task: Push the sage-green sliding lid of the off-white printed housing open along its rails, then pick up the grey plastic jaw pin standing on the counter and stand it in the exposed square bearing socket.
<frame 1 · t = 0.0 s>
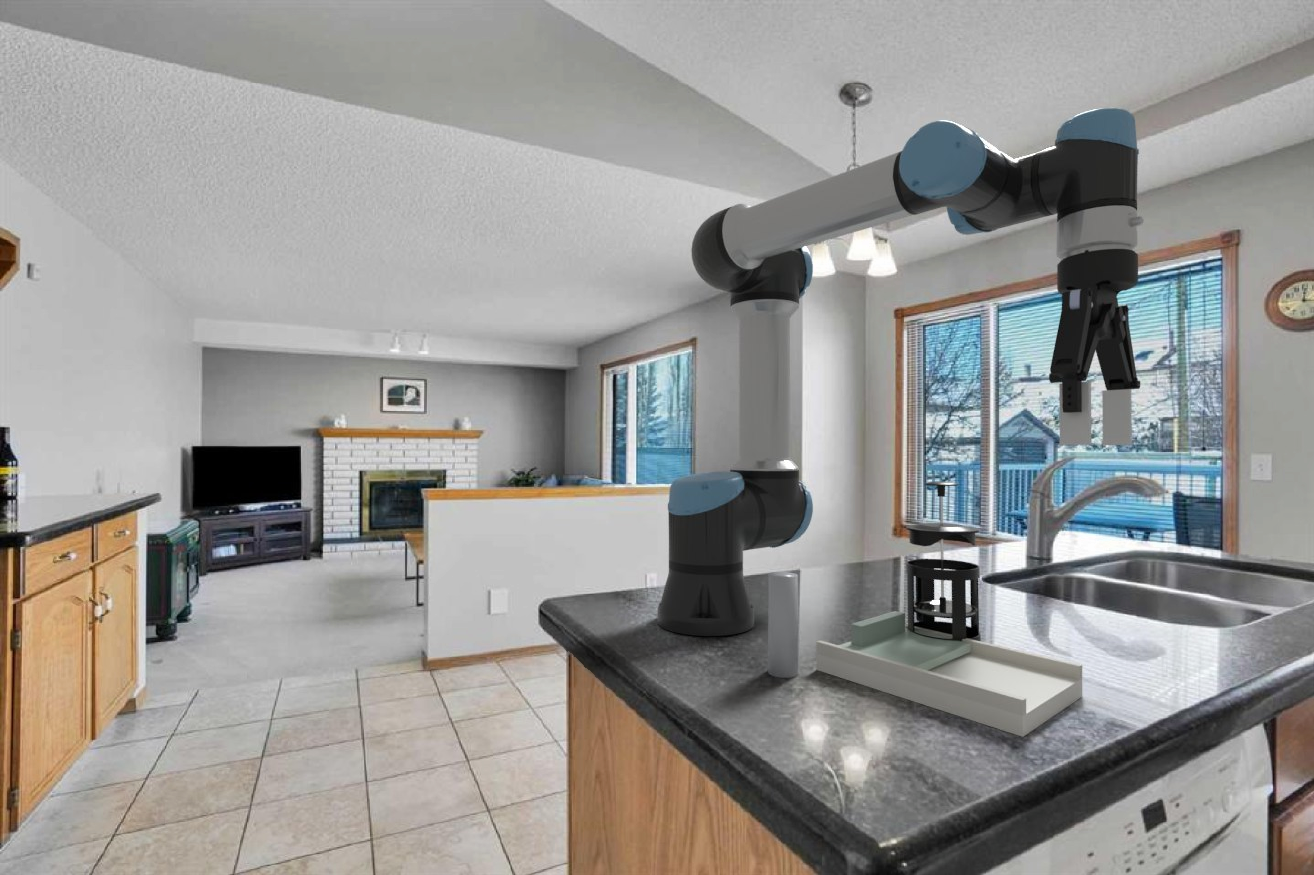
hand: (1097, 445, 73), 28 cm above the countertop, fingers open, 13 cm apart
lid: (904, 638, 81), point 4 cm above the countertop, slide at 0.3 cm, touching french press
housing: (942, 682, 77), on the countertop
jaw pin: (782, 672, 80), on the countertop
french press: (941, 655, 87), on the countertop, touching housing, lid
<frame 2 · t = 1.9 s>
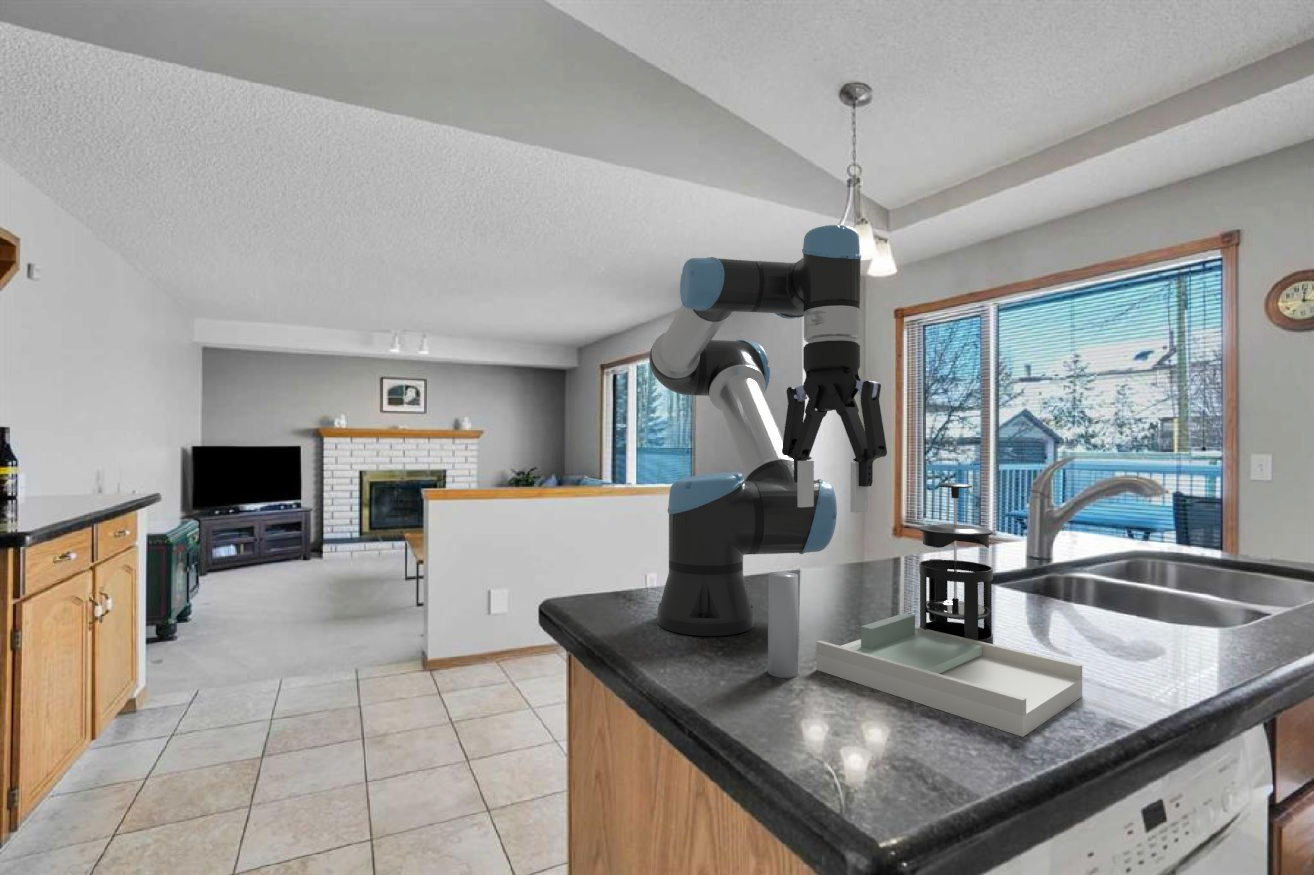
hand: (831, 508, 89), 19 cm above the countertop, fingers open, 8 cm apart
lid: (915, 641, 79), point 4 cm above the countertop, slide at 1.6 cm
french press: (953, 655, 88), on the countertop, touching housing
everything else where it was.
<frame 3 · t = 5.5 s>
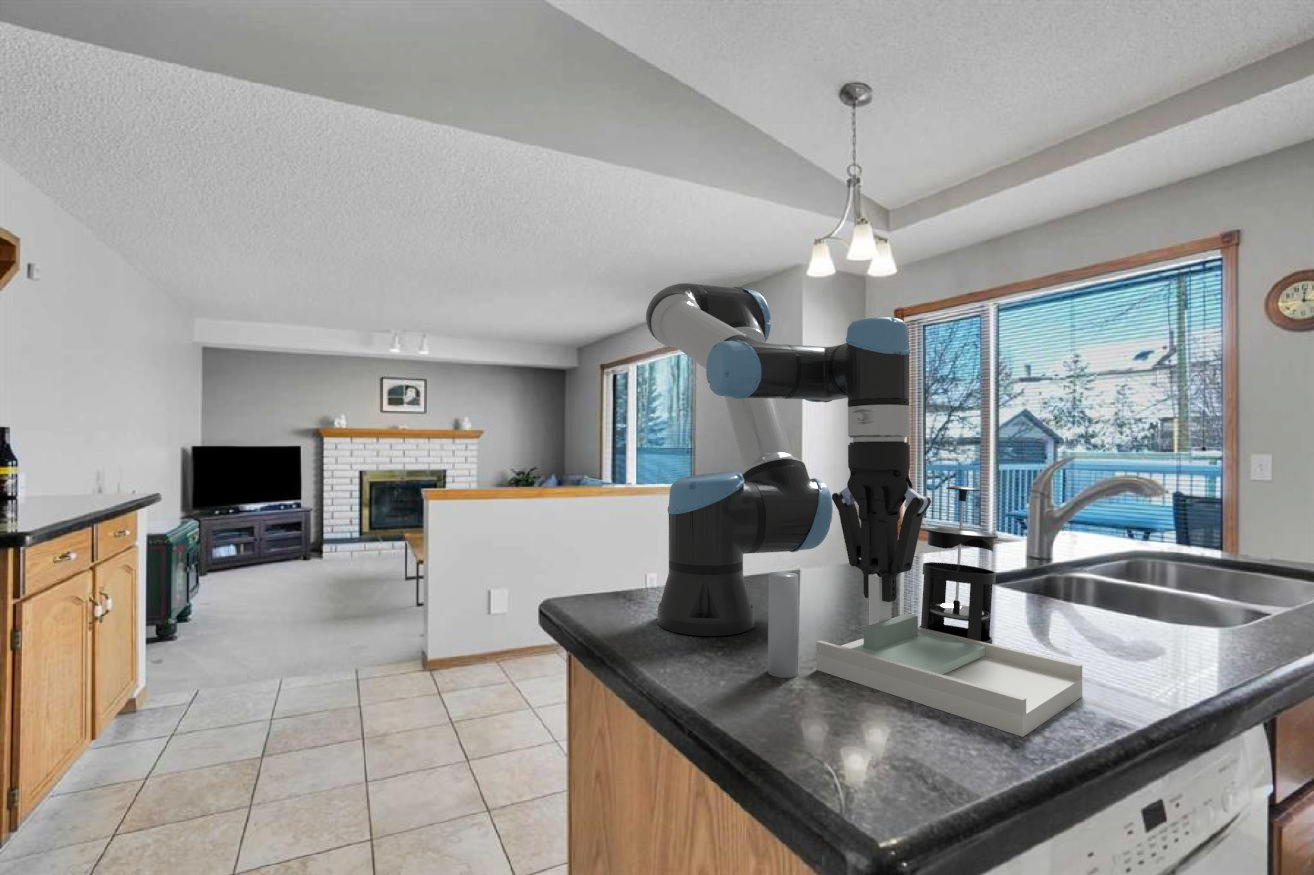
hand: (880, 625, 83), 5 cm above the countertop, fingers closed
lid: (917, 641, 79), point 4 cm above the countertop, slide at 2.0 cm, touching gripper
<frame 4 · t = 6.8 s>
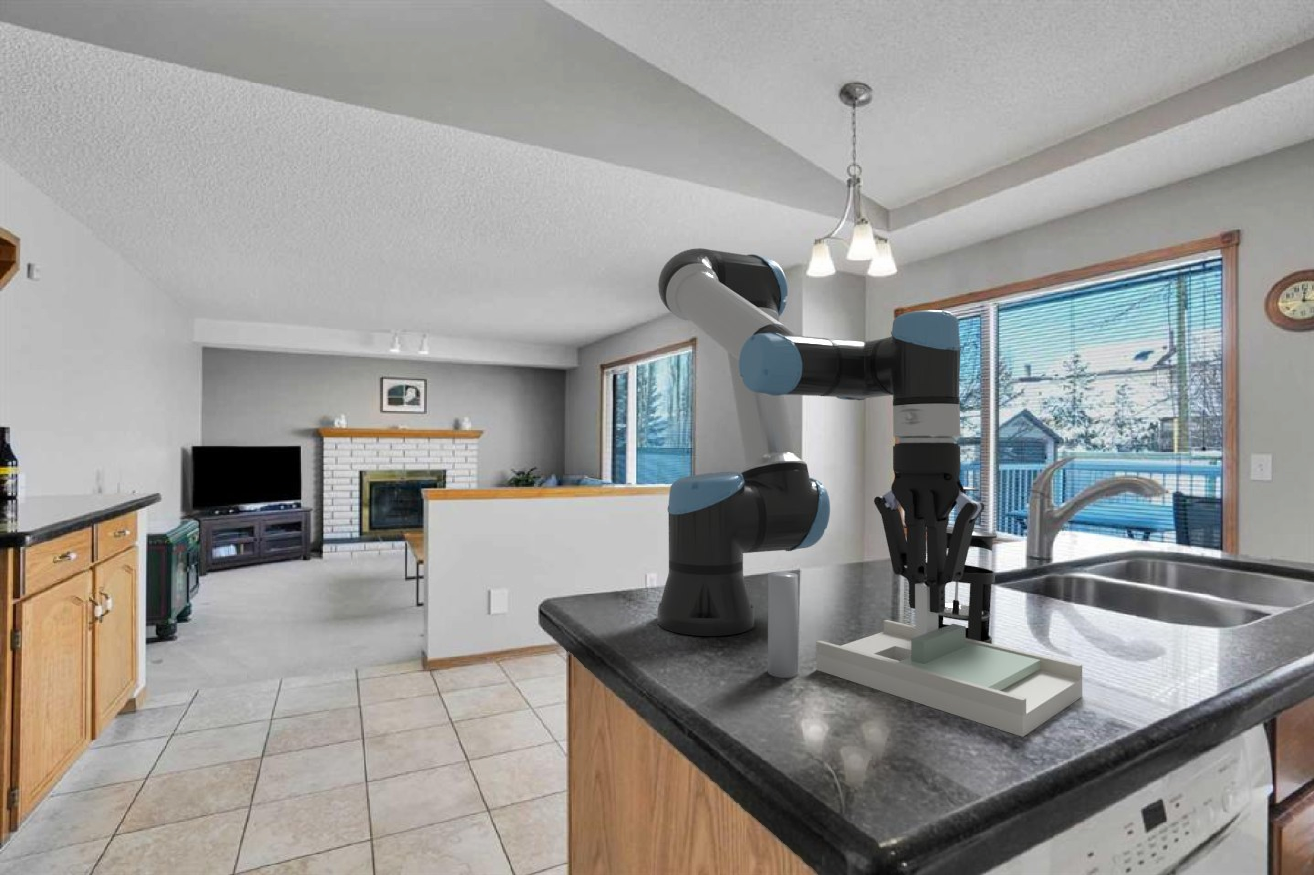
hand: (927, 637, 78), 5 cm above the countertop, fingers closed
lid: (969, 654, 74), point 4 cm above the countertop, slide at 8.2 cm, touching gripper
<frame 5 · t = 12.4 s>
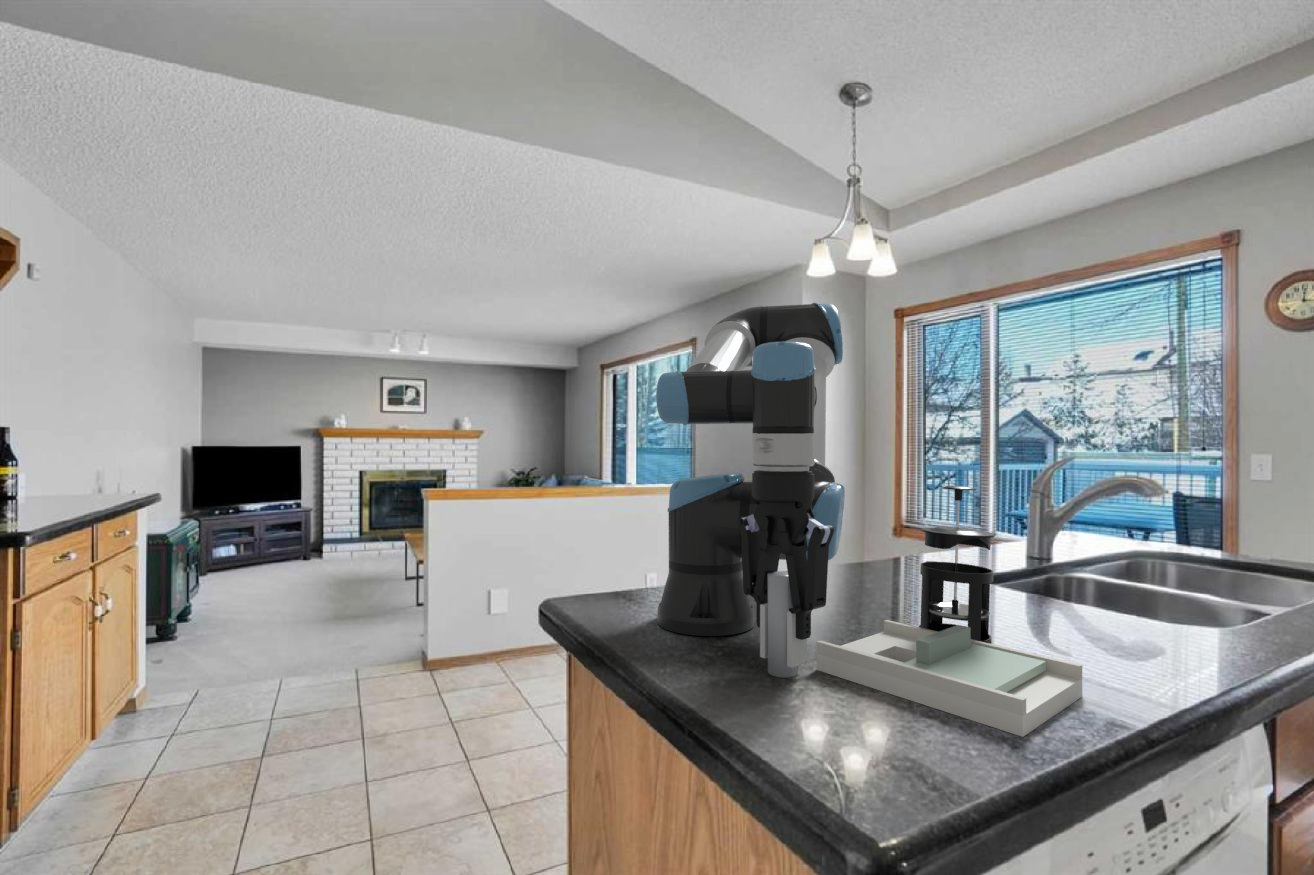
hand: (782, 659, 80), 2 cm above the countertop, fingers closed on jaw pin, 3 cm apart
lid: (974, 655, 74), point 4 cm above the countertop, slide at 8.8 cm
jaw pin: (782, 672, 80), on the countertop, touching gripper
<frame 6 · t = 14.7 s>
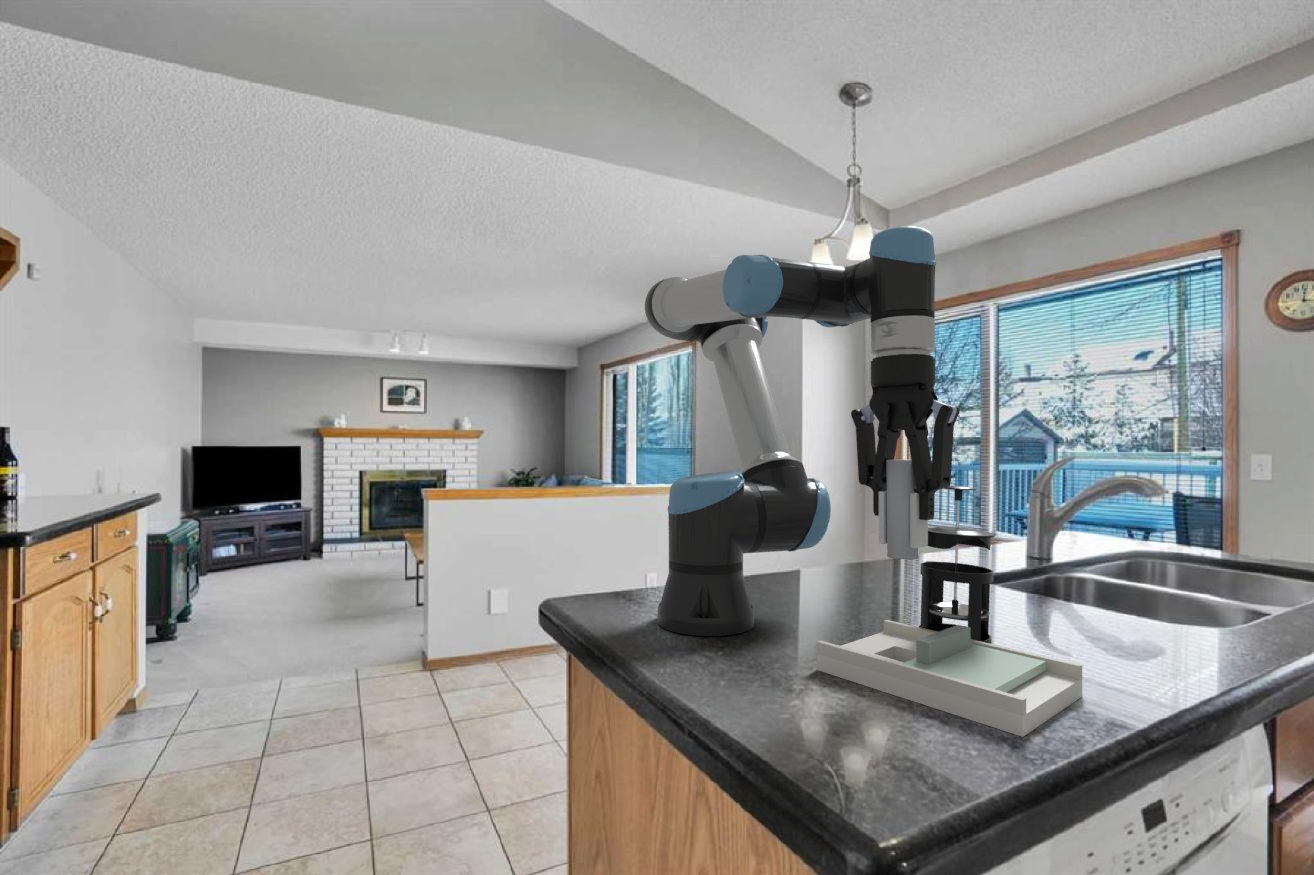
hand: (902, 544, 81), 16 cm above the countertop, fingers closed on jaw pin, 3 cm apart
jaw pin: (902, 556, 81), point 14 cm above the countertop, touching gripper
when the fingers open (3 cm above the countertop, at t = 17.0 s): jaw pin drops 1 cm, resting on housing.
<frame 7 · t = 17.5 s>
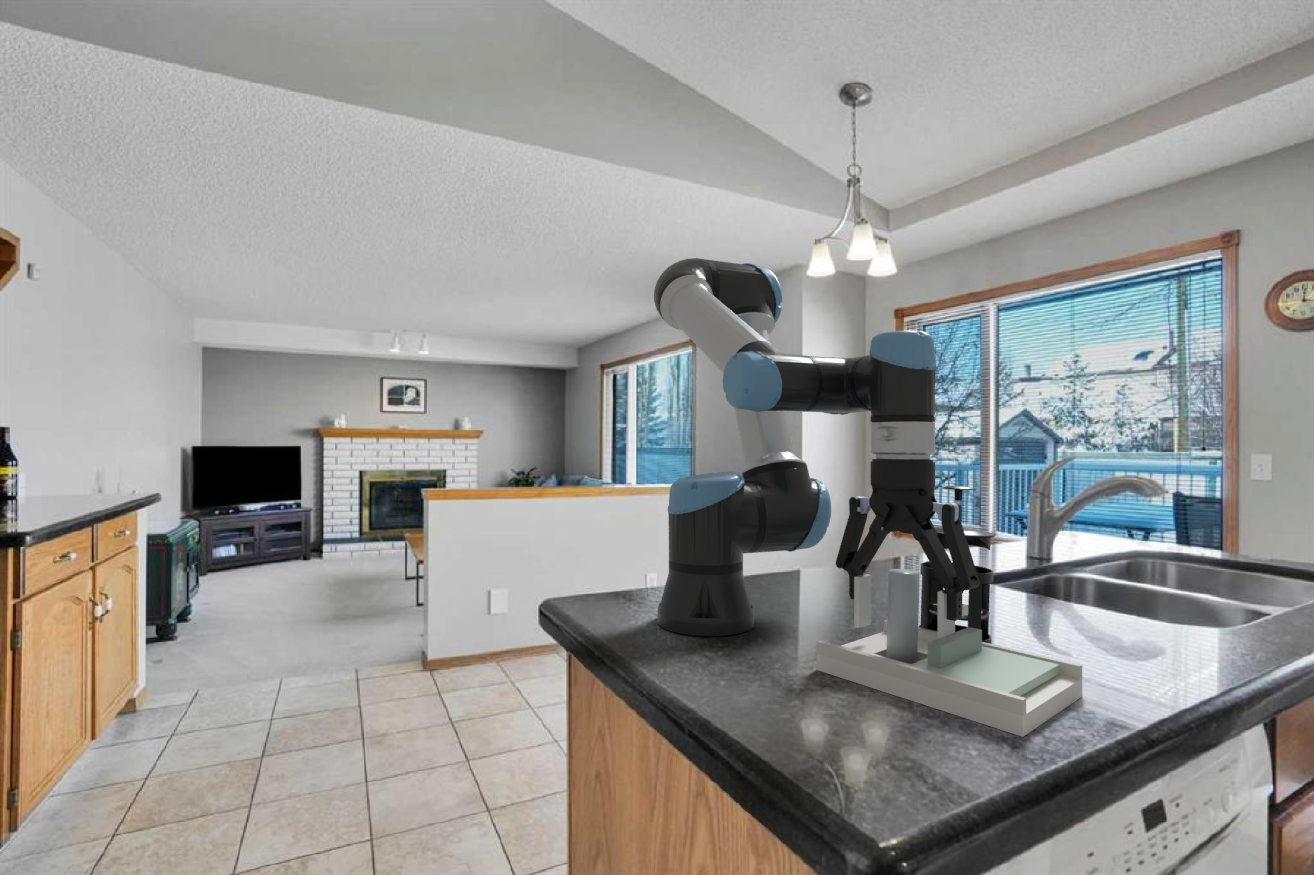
hand: (902, 635, 81), 4 cm above the countertop, fingers open, 10 cm apart
lid: (986, 658, 73), point 4 cm above the countertop, slide at 10.1 cm, touching gripper
jaw pin: (901, 668, 81), resting on housing
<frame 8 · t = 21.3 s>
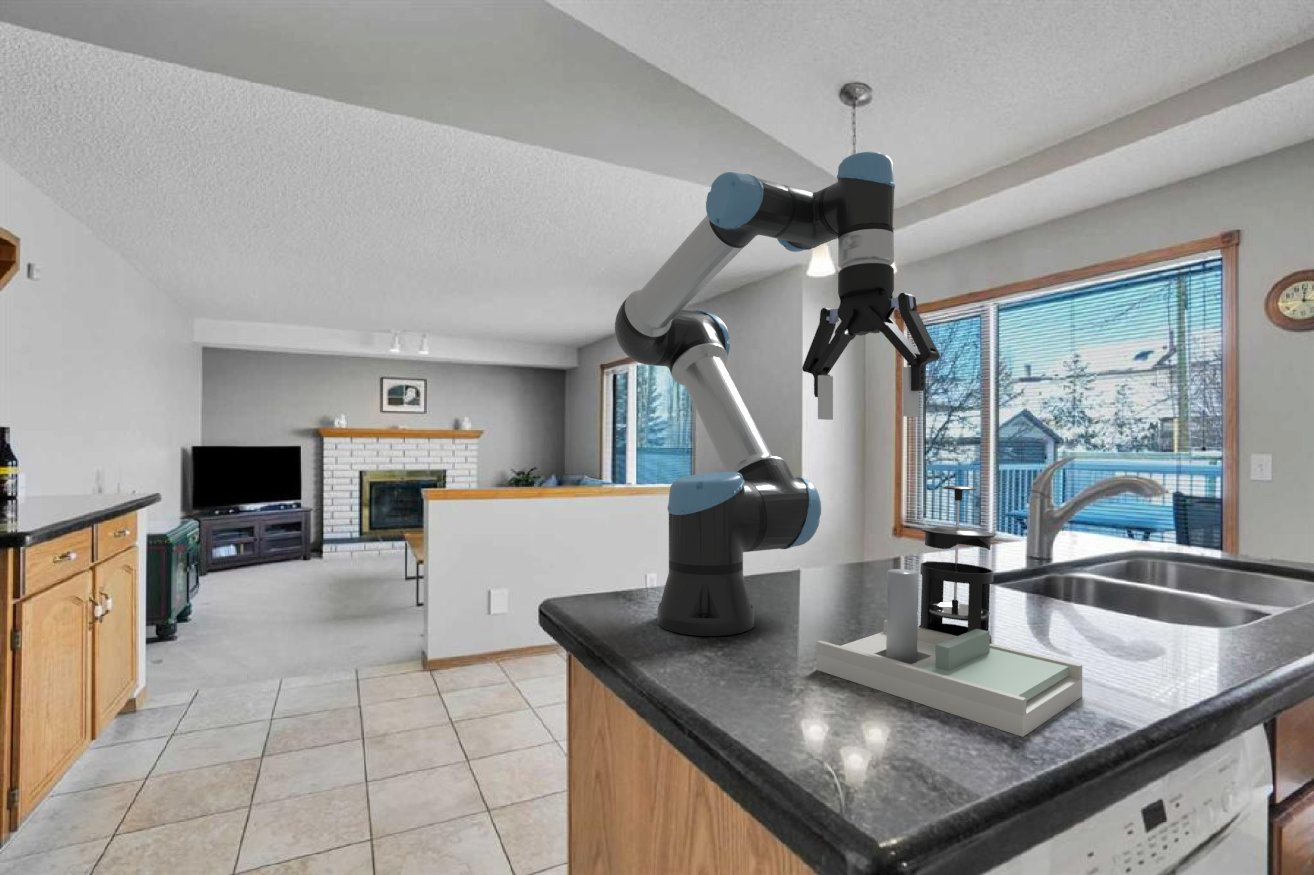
hand: (865, 418, 92), 32 cm above the countertop, fingers open, 13 cm apart
lid: (995, 660, 72), point 4 cm above the countertop, slide at 11.0 cm
at the end: jaw pin 0.1 cm from the target spot on the housing, point 0.2 cm above the housing's base; jaw pin tilted 1°; lid slide at 11.0 cm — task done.
